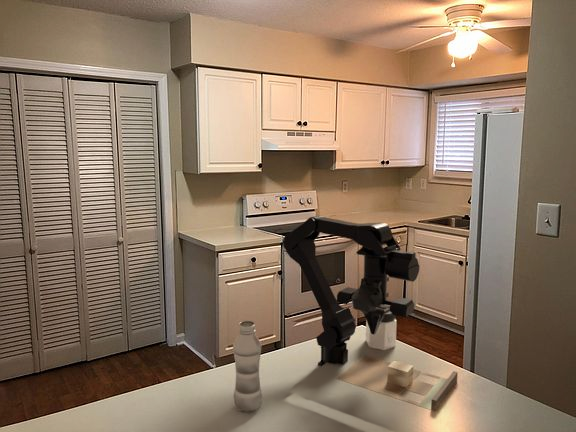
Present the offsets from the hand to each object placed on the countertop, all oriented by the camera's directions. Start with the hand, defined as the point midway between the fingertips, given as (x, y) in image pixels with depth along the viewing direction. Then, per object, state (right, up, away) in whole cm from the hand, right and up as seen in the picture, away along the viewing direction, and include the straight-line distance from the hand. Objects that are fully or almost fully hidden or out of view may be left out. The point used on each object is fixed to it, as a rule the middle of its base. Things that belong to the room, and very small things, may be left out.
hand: (373, 333), depth 119 cm
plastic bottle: (-31, -14, -12) cm, 36 cm away
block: (+6, -11, -3) cm, 13 cm away
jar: (+6, -9, +20) cm, 23 cm away
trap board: (+5, -12, -2) cm, 14 cm away
